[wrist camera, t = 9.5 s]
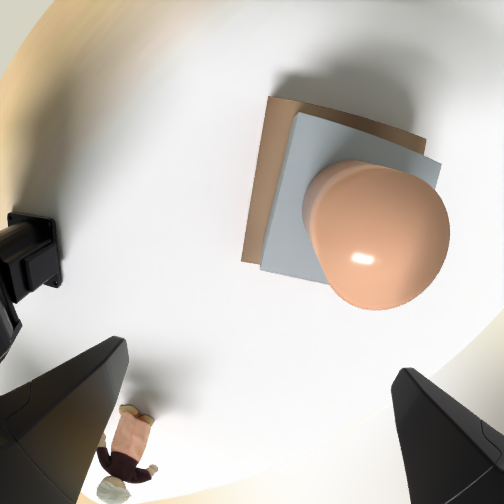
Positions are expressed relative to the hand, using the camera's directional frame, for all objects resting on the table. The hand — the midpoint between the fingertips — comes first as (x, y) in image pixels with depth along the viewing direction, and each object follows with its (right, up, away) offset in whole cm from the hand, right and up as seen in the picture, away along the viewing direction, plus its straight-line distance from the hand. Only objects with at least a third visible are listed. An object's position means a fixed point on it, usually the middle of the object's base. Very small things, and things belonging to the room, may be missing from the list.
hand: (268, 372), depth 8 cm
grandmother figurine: (-14, -16, +21) cm, 29 cm away
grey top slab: (+5, +7, +8) cm, 12 cm away
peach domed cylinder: (+4, +6, +5) cm, 9 cm away
